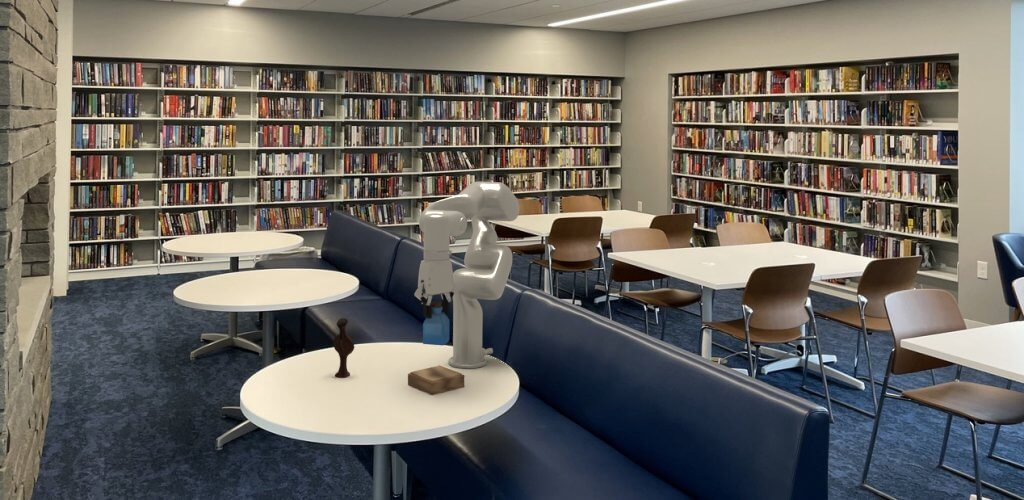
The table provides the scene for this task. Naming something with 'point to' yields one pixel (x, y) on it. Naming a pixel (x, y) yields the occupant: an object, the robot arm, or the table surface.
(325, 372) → the table surface
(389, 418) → the table surface
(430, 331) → the perfume bottle
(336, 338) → the figurine
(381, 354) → the table surface
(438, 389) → the pedestal
